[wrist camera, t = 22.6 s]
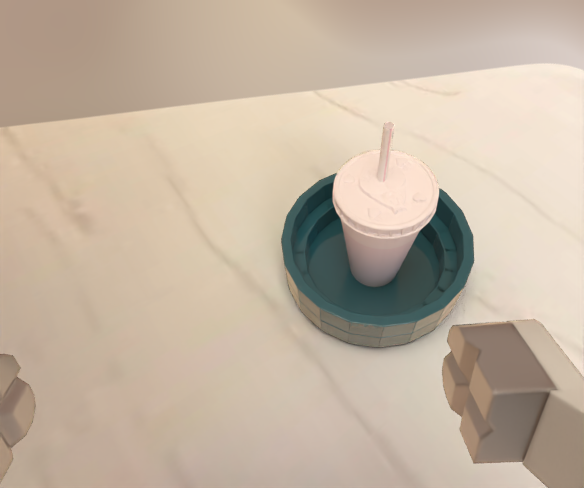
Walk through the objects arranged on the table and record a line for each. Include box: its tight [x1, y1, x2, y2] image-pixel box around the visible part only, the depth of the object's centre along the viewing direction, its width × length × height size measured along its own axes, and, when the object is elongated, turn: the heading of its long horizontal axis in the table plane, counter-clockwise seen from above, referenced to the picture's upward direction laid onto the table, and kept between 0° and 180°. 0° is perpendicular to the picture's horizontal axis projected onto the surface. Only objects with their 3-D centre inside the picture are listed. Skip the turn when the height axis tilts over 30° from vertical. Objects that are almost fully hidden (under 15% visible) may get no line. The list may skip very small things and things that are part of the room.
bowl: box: [281, 173, 474, 348], centre depth 33 cm, size 13×13×4 cm
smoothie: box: [333, 122, 439, 287], centre depth 29 cm, size 6×6×14 cm
